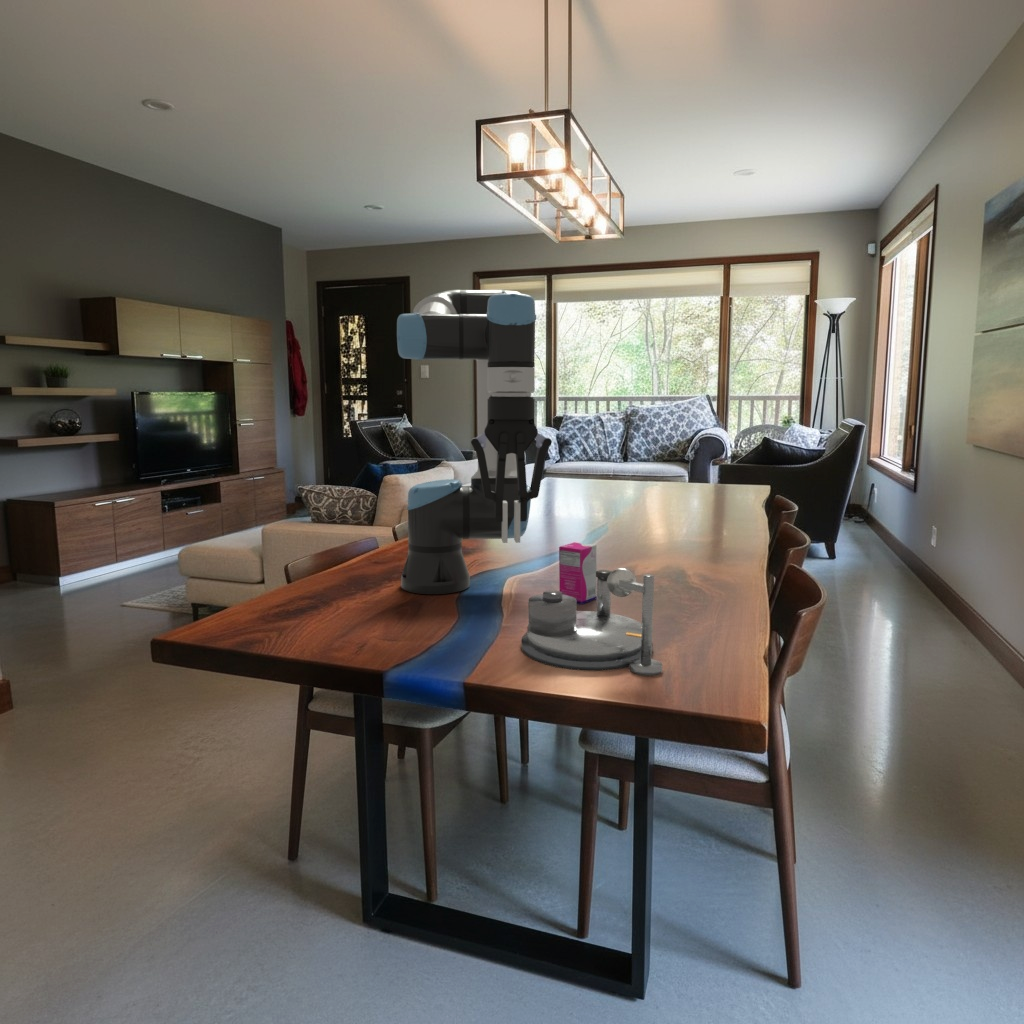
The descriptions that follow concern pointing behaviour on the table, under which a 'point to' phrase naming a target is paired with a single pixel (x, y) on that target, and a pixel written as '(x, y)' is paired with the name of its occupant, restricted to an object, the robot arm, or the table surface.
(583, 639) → the turntable
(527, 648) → the base
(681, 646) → the table surface
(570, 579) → the supplement box
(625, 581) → the metal lever handle
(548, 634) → the cover
